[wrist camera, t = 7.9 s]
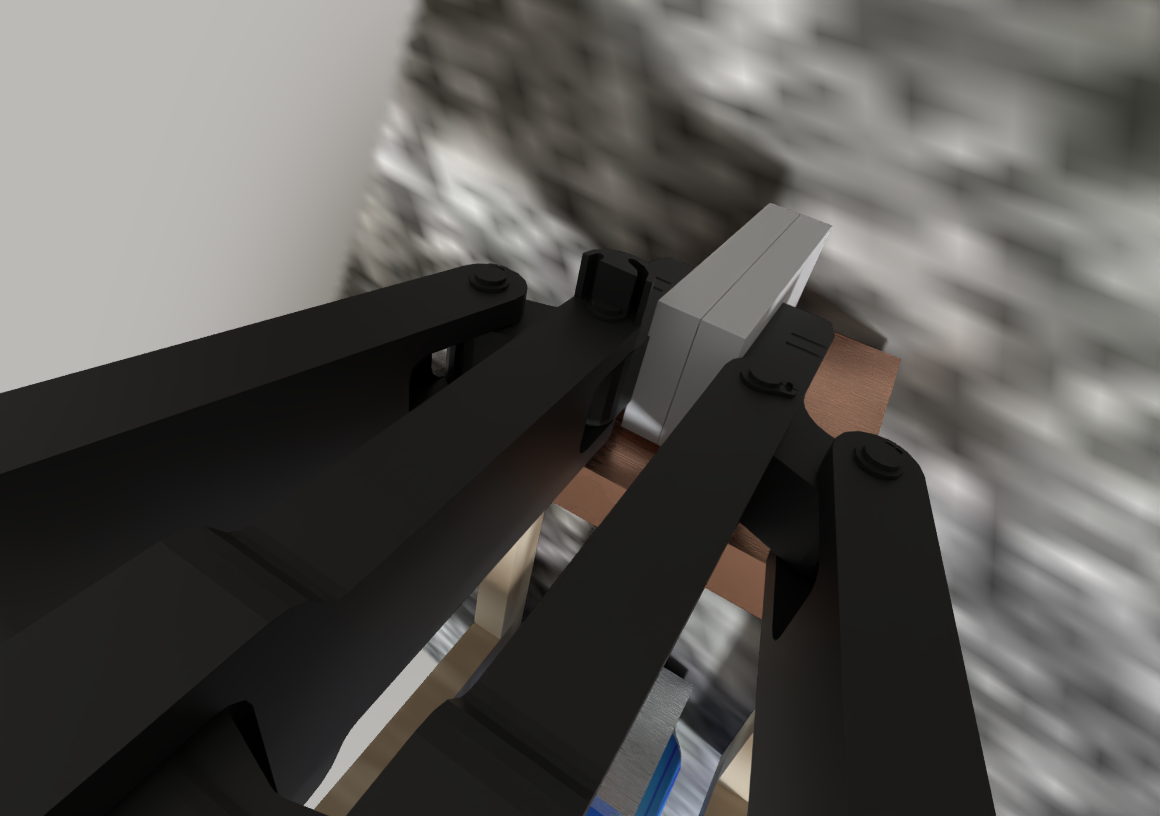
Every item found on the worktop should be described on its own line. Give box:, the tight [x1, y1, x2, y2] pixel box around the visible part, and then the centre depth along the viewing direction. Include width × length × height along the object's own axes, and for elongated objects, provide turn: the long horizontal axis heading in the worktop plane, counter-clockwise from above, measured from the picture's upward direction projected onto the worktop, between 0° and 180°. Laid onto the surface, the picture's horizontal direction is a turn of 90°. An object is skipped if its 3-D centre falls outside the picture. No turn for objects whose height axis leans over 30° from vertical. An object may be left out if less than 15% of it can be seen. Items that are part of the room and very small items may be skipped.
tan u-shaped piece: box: [553, 332, 901, 816], centre depth 20 cm, size 18×7×9 cm, turn 168°
